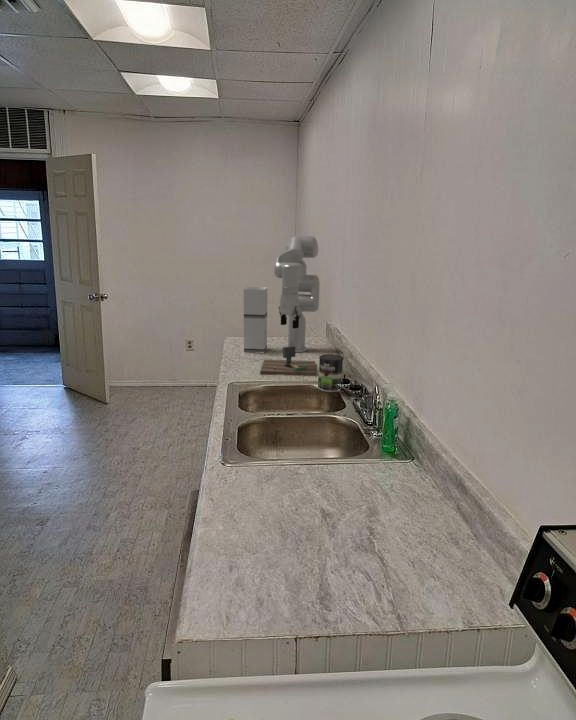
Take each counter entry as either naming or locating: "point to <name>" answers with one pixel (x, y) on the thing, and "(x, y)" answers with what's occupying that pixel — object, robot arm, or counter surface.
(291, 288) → the robot arm
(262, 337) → the tall grey two-section tower
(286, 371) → the wooden cutting board
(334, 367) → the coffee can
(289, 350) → the tuning peg
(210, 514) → the counter surface
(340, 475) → the counter surface
